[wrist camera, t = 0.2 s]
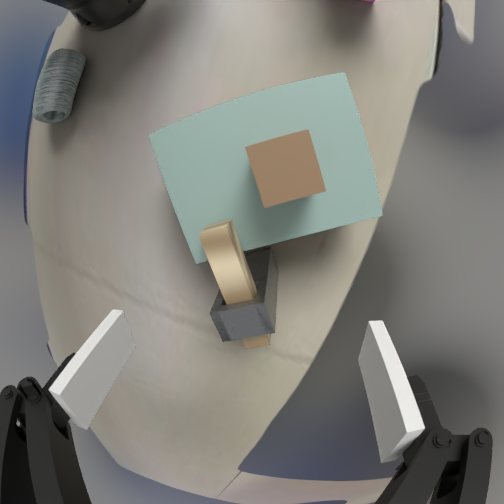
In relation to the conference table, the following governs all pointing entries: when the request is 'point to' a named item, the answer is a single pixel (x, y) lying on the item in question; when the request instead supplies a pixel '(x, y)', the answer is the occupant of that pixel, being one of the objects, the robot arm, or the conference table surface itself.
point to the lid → (270, 164)
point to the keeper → (250, 302)
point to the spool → (58, 85)
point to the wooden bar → (231, 269)
